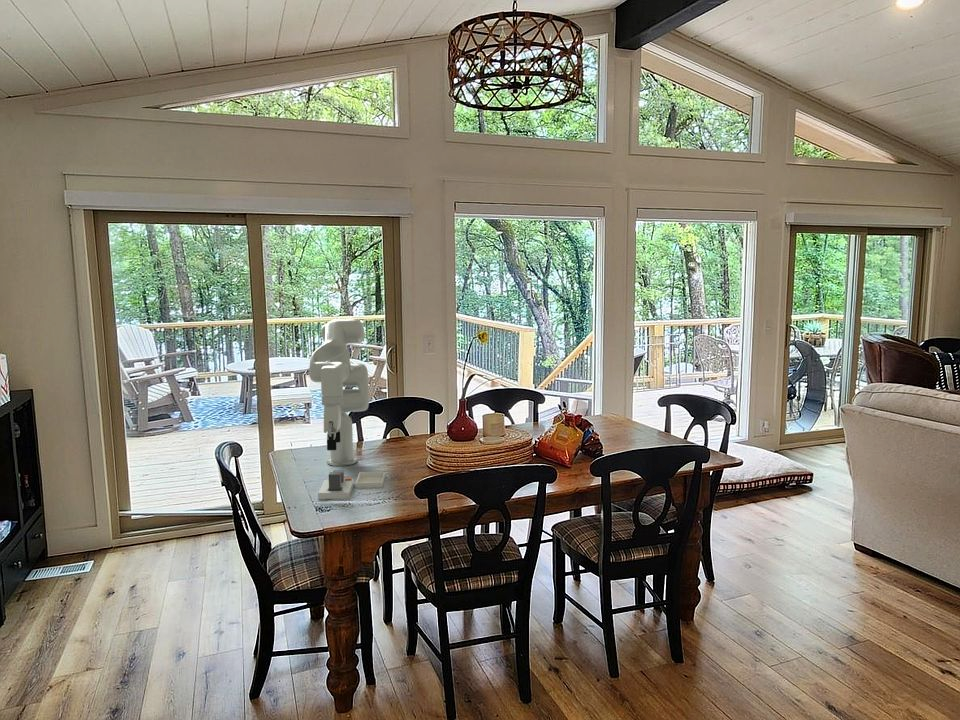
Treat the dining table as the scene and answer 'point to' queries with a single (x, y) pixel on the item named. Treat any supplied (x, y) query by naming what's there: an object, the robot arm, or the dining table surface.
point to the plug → (335, 481)
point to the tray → (370, 479)
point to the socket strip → (343, 494)
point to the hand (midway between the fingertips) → (333, 446)
